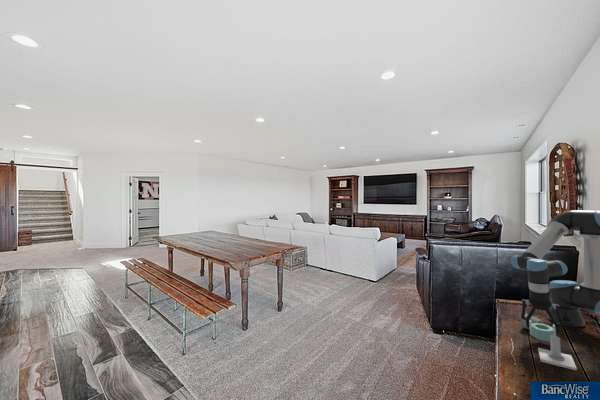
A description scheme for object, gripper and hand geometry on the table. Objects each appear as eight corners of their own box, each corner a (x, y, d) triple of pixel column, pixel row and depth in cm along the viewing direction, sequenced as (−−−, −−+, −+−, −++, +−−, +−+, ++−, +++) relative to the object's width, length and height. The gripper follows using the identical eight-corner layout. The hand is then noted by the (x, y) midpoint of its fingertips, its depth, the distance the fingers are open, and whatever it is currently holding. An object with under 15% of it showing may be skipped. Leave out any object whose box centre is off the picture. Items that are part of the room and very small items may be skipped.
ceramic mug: (538, 335, 134) (537, 320, 134) (520, 328, 141) (519, 314, 142) (550, 331, 138) (549, 317, 138) (531, 325, 145) (531, 311, 145)
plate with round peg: (538, 349, 122) (536, 328, 122) (571, 357, 115) (569, 335, 115) (540, 361, 113) (539, 338, 113) (576, 370, 106) (575, 346, 106)
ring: (542, 332, 130) (541, 322, 130) (559, 340, 122) (558, 330, 122) (527, 333, 130) (526, 323, 130) (543, 342, 122) (542, 331, 122)
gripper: (511, 289, 131) (515, 333, 131) (570, 297, 117) (574, 346, 116) (512, 285, 136) (515, 327, 136) (568, 292, 122) (572, 339, 122)
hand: (542, 336), depth 126 cm, fingers closed on ring, 8 cm apart
